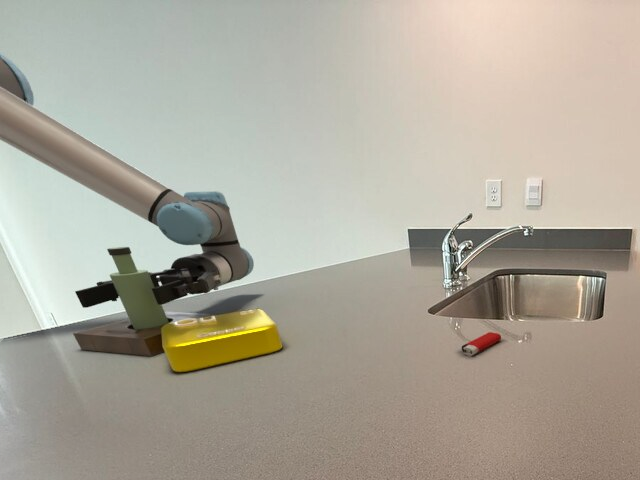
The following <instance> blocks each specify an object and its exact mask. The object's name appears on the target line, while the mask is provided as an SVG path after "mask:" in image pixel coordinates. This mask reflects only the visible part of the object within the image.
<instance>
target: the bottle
mask: <svg viewBox="0 0 640 480" xmlns="http://www.w3.org/2000/svg"><path fill="white" fill-rule="evenodd" d="M106 250H107V252H108V255H109V256H111V258H112V260H113V262H114V264H115V267H116V269H117V271H118V272H112V273H110V274H109V277H110V280H112V282H113V284H114V286H115V288H116V291H117V293H118V295H119V296H118V297H119V299H120V301H121V303H122V306H123V308H124V310H125V312H126V315H127V317H128V318H129V319H130V321H131V324H132V326H133V328H134V329H145V328H152V327H156V326H161V325H164V324H168V323H169V321H168V319H167V317H166V314H165V312H164V311H165V310H164V307H163V305H158V303H157V301H156V299H155V296H154V294H153V291H152V288H155V287H154V285H153V283H152V280H151V278H150V275H149V273H148V272H149V270H147V269H138V268H137V266H136V263H135V261H134V259H133V257H132V251H131V248H130V247H129V246H118V247H110V248H109V247H108V248H106Z"/></svg>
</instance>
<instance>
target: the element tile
mask: <svg viewBox="0 0 640 480" xmlns="http://www.w3.org/2000/svg"><path fill="white" fill-rule="evenodd" d="M161 333H162V347H163V349H164V351H165V352H164V353H165V355H166V358H167V360H168V363H169V365H170V367H171V369H172V370H173V372H176V373H187V372H193V371H198V370H202V369H206V368H210V367H215V366H219V365H223V364H228V363H233V362H237V361H242V360H246V359H250V358H255V357H259V356H264V355H269V354H272V353H275V352H278V351H280V350H281V349H282V348H283V343H282V339H281V337H280V333H279V329H278V326H277V324H276V323H275V321H274V320H272V318H271V317H270V316H269V315H268V314H267V313H266V312H265V311H264V310H262V309H260V308H251V309H245V310H240V311H234V312H227V313H221V314H219V315H215V316H209V317H203V318H197V319H195V318H190V319H184V320H179V321H176V322H174V323H168V324H165V325H164V326H163V327H162V328H161Z"/></svg>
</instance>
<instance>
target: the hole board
mask: <svg viewBox="0 0 640 480" xmlns="http://www.w3.org/2000/svg"><path fill="white" fill-rule="evenodd" d="M164 312H165V314H166V317H167V319H168V321H169V323H174V322H176V321H179V320H184V319H190V318H195V319H197V318H203V317H209V316H215V315H220V314H219V313H216V314H215V313H201V312H200V313H196V312H181V311H180V312H179V311H167V310H166V311H165V310H164ZM164 325H165V324H164ZM164 325H161V326H156V327H152V328H145V329H134V328H133V326H132V324H131V321H130V319H129V317H128V318H124V319H121V320H117V321H114V322H113V321H112V322H110V323H106V324H103V325H99V326H95V327H91V328H89V329H88V328H87V329H84V330H80V331H77V332H74V333H73V332H72V335H73V337H74V338H75V340H76V342H77V344H78V346H79V348H80V350H82V351H91V352H99V353H100V352H101V353H113V354H124V355H134V356H142V357H143V356H145V357H154V356H157V355H159V354H162V353H165V351H164V349H163V347H162V333H161V328H162V327H163V326H164Z"/></svg>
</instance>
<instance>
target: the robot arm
mask: <svg viewBox="0 0 640 480" xmlns="http://www.w3.org/2000/svg"><path fill="white" fill-rule="evenodd" d="M34 97H35V96H34V92H33V90H32V88H31V85H30V82H29V80H28V79H27V76H26V75H25V74H24V72H23V71H22V70H21V69H20V68H19V66H18V65H16V63H14V62H13V61H12V60H11V59H10V58H8V56H6V55H5V54H3V53H2V52H0V141H2V142H3V143H6V144H7V145H9V146H11V147H13V148H15V149H16V150H17V151H20V152H22V153H24V154H26V155H28V156H29V157H31V158H33V159H35V160H36V161H38V162H40V163H42V164H44V165H45V166H47V167H49V168H51V169H53V170H55V171H57V172H58V173H60V174H62V175H64V176H66V178H68V179H70V180H72V181H74V182H77V183H78V184H80V185H82V186H84V187H86V188H87V189H89V190H91V191H93V192H95V193H97V194H98V195H100V196H102V197H104V198H105V199H106V200H107V199H108V200H109V201H111V202H112V203H115V204H116V205H118V206H120V207H121V208H124V209H125V210H127V211H129V212H131V213H133V214H135V215H137V216H138V217H140V218H142V219H144V220H146V221H147V222H149V223H151V224H153V225H154V226H156V227H157V228H158V229H159V231H161V233H162V234H163V235H164V236H165V237H166V238H167V239H168V240H170V241H172V242H173V243H175V244H178V245H182V246H197V245H198V246H199V245H200V247H201V250H202V251H201V252H198V253H194V254H191V255H187V256H181V257H179V258H178V257H177V259H175V260H174V261H173V262H172V264H171V267H170V268H167V269H163V270H162V271H156V272H150V271H148V273H149V275H150V278H151V280H152V283H153V285H154V287H155V288H152V291H153V294H154V296H155V299H156V301H157V303H158V305H162V306H163V305H165V304H168V303H171V302H174V301H176V300H179V299H181V298H184V297H187V296H188V295H200V294H201V295H202V294H208V293H210V292H211V291H212V290H213V291H218V290H219V288H220V287H222V286H224V285H227V284H229V283H233V282H235V281H240V280H242V279H244V278H245V277H247V276H249V275H250V274H251V273H252V272H253V270H254V266H255V264H254V263H255V262H254V258H253V257H252V255H251V254H250V252H249V251H248V250H247V249H246V248H244V247H242V246H241V244H240V242H239V238H238V235H237V232H236V228H235V225H234V222H233V218H232V215H231V211H230V208H231V207H230V206H229V205H228V202H227V200H226V197H225V195H224V193H222V192H221V191H216V190H215V191H186V192H184V194H183V195H181V194H180V193H178V192H176V191H175V190H173V189H172V188H170V187H168V186H167V185H165V184H163V183H162V182H161V181H159V180H157V179H155V178H153V177H152V176H150V175H149V174H147V173H145V172H143V171H142V170H140V169H139V168H137V167H135V166H133V165H132V164H130V163H128V162H127V161H125V160H124V159H122V158H120V157H118V156H117V155H115V154H113V153H111V152H110V151H108V150H107V149H105V148H103V147H102V146H100V145H98V144H97V143H96V142H93V141H92V140H90V139H88V138H87V137H85V136H84V135H81V134H80V133H78V132H77V131H75V130H73V129H71V128H70V127H68V126H67V125H65V124H63V123H62V122H60V121H59V120H57V119H55V118H54V117H51V116H50V115H48V114H46V113H45V112H44V111H42V110H40V109H39V108H37V107H35V106H34V104H35V103H34V102H35V98H34ZM95 284H96V285H95V286H90V287H87V288H83V289H79V290H75V291H74V292H75V294H76V297H77V299H78V301H79V302H80V305H81V307H82V309H83V308H85V309H86V308H92V307H94V306H98V305H100V304H104V303H108V302H110V301H111V302H117V301H118V299H120V297H119V295H118V293H117V291H116V288H115V286H114V284H113V282H112V280H111V279H110V280H105V281H98V282H96V283H95ZM160 284H161V285H160Z"/></svg>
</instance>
